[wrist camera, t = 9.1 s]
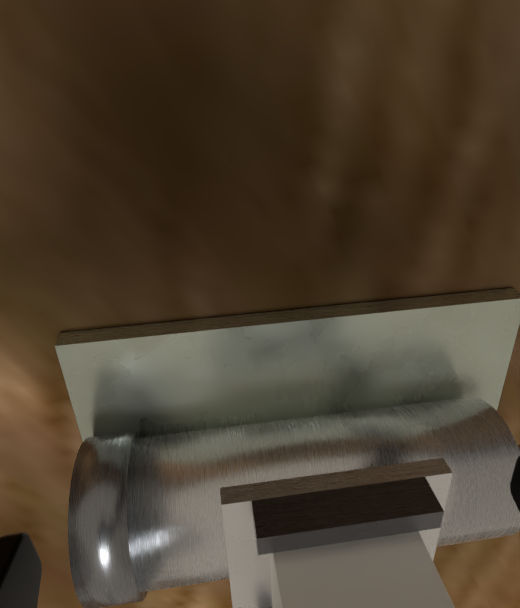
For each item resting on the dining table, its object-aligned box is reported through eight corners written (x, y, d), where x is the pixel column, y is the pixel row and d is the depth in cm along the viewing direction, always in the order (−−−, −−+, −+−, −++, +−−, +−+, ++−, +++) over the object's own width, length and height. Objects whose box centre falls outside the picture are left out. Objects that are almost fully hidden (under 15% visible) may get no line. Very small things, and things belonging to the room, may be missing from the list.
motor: (516, 287, 22) (685, 412, 15) (465, 496, 29) (561, 654, 21) (60, 332, 20) (-15, 504, 12) (120, 546, 27) (95, 739, 19)
